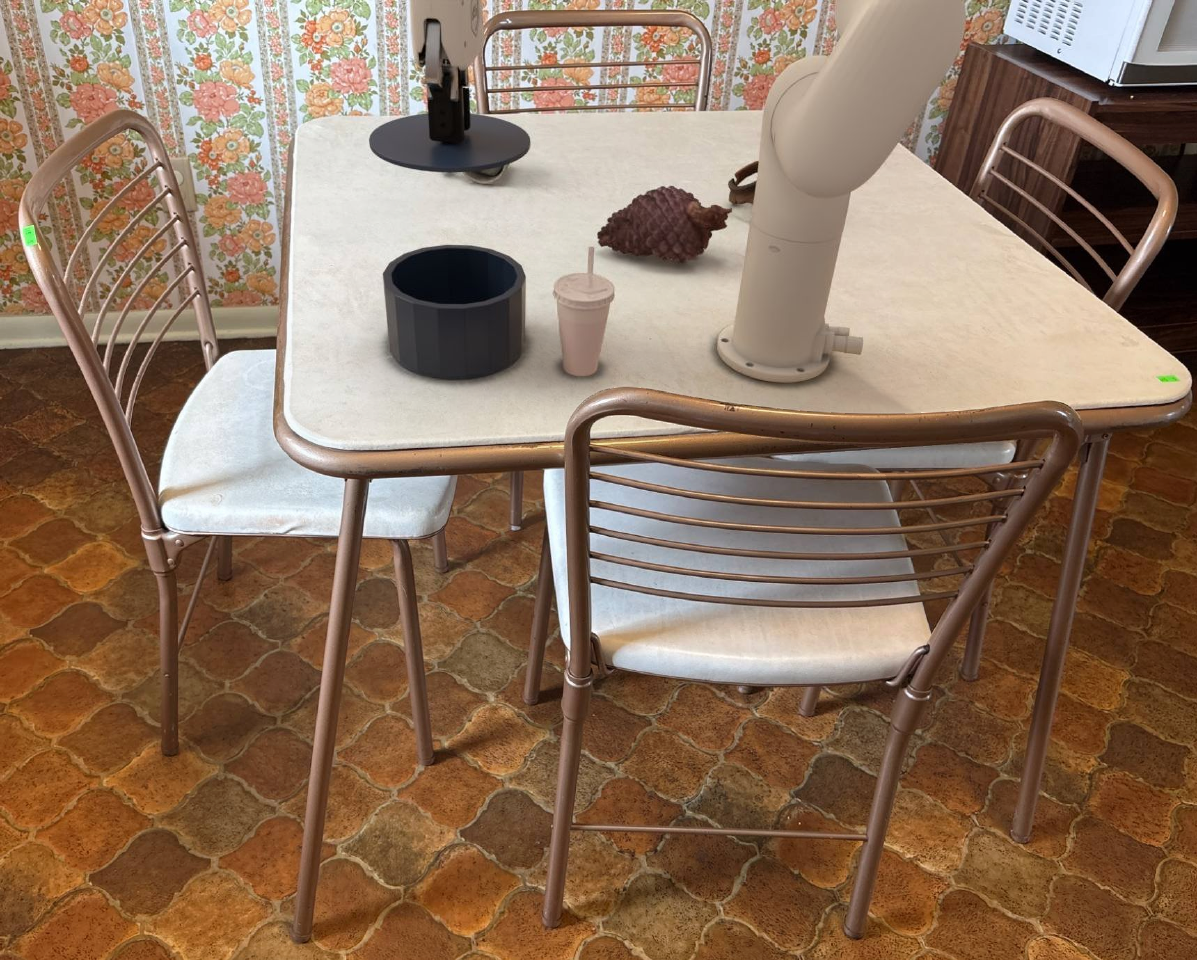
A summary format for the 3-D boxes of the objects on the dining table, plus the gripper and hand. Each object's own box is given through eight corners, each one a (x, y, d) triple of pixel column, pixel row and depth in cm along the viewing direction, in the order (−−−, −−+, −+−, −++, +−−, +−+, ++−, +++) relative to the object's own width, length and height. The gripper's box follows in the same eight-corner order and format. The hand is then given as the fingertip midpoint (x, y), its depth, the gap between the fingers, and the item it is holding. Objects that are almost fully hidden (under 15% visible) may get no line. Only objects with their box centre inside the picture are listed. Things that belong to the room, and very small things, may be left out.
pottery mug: (791, 233, 140) (770, 183, 135) (733, 245, 145) (711, 197, 141) (816, 186, 146) (797, 136, 142) (760, 198, 152) (739, 151, 147)
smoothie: (603, 387, 104) (611, 265, 96) (544, 377, 105) (547, 256, 97) (614, 356, 109) (623, 238, 101) (558, 348, 110) (562, 230, 102)
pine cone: (597, 273, 125) (585, 193, 124) (609, 278, 135) (598, 204, 134) (736, 249, 122) (725, 167, 121) (739, 256, 132) (729, 180, 131)
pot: (534, 319, 115) (535, 251, 110) (511, 387, 103) (510, 315, 98) (409, 306, 116) (404, 238, 111) (372, 373, 104) (365, 300, 99)
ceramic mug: (518, 167, 153) (517, 116, 148) (507, 186, 146) (506, 134, 141) (451, 161, 153) (448, 111, 149) (437, 180, 147) (434, 128, 142)
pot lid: (540, 129, 104) (541, 69, 101) (516, 185, 92) (516, 119, 88) (393, 117, 105) (388, 57, 101) (349, 171, 93) (342, 105, 89)
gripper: (464, -57, 80) (471, 167, 91) (499, -88, 93) (502, 112, 104) (372, -63, 80) (391, 161, 91) (420, -94, 93) (432, 106, 104)
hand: (450, 133), depth 97 cm, fingers closed on pot lid, 2 cm apart
